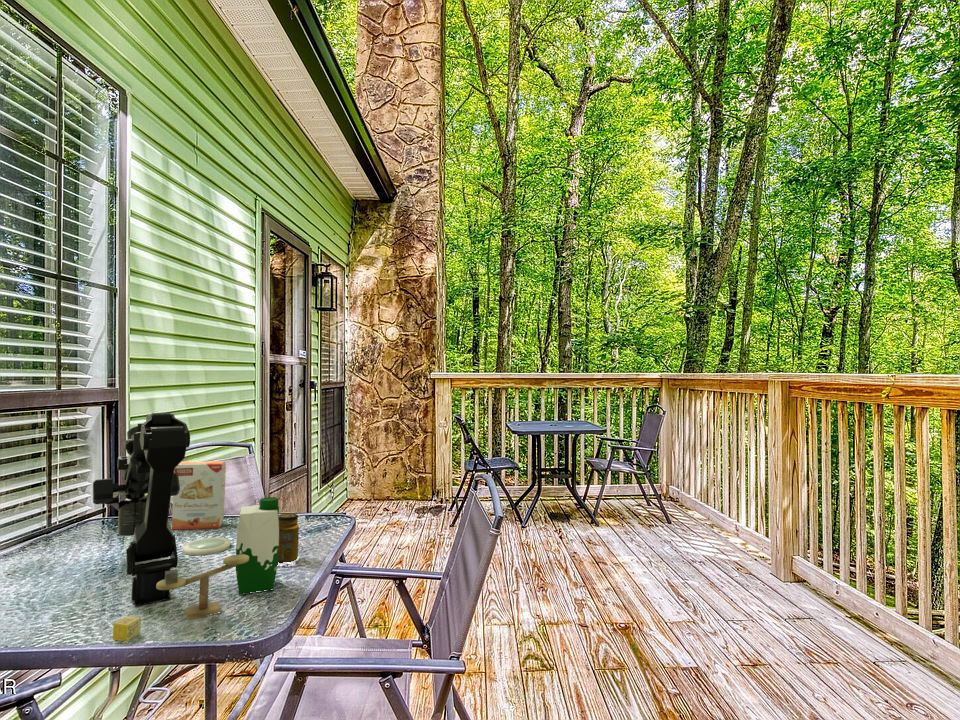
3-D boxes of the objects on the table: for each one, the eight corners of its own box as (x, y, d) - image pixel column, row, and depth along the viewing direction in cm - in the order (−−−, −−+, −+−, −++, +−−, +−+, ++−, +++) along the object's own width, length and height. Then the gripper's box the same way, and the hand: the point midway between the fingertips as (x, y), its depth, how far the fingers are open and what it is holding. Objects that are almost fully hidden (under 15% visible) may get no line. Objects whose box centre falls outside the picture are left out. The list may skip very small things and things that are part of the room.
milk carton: (277, 591, 117) (280, 502, 118) (233, 597, 113) (236, 505, 114) (277, 578, 125) (279, 494, 126) (235, 582, 121) (239, 497, 122)
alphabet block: (140, 633, 97) (141, 616, 97) (126, 641, 94) (127, 624, 94) (126, 632, 97) (127, 615, 97) (112, 640, 94) (112, 623, 94)
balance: (244, 599, 113) (246, 552, 113) (249, 607, 108) (251, 559, 109) (153, 618, 103) (155, 567, 103) (155, 628, 99) (157, 575, 99)
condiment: (303, 556, 141) (304, 512, 141) (292, 567, 132) (294, 520, 133) (275, 556, 140) (277, 511, 141) (263, 567, 132) (265, 520, 132)
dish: (226, 539, 154) (226, 534, 155) (234, 550, 145) (234, 545, 145) (180, 546, 147) (180, 541, 148) (185, 558, 138) (185, 552, 138)
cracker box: (170, 530, 162) (173, 463, 163) (177, 525, 168) (179, 461, 169) (219, 528, 166) (221, 462, 167) (224, 523, 172) (226, 460, 172)
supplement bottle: (126, 529, 141) (128, 484, 141) (153, 528, 142) (155, 484, 142) (112, 536, 134) (114, 489, 134) (140, 535, 135) (142, 489, 135)
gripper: (179, 443, 142) (170, 478, 150) (95, 448, 130) (89, 486, 138) (184, 476, 136) (174, 511, 143) (96, 484, 123) (90, 521, 131)
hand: (133, 506), depth 139 cm, fingers closed on supplement bottle, 7 cm apart
